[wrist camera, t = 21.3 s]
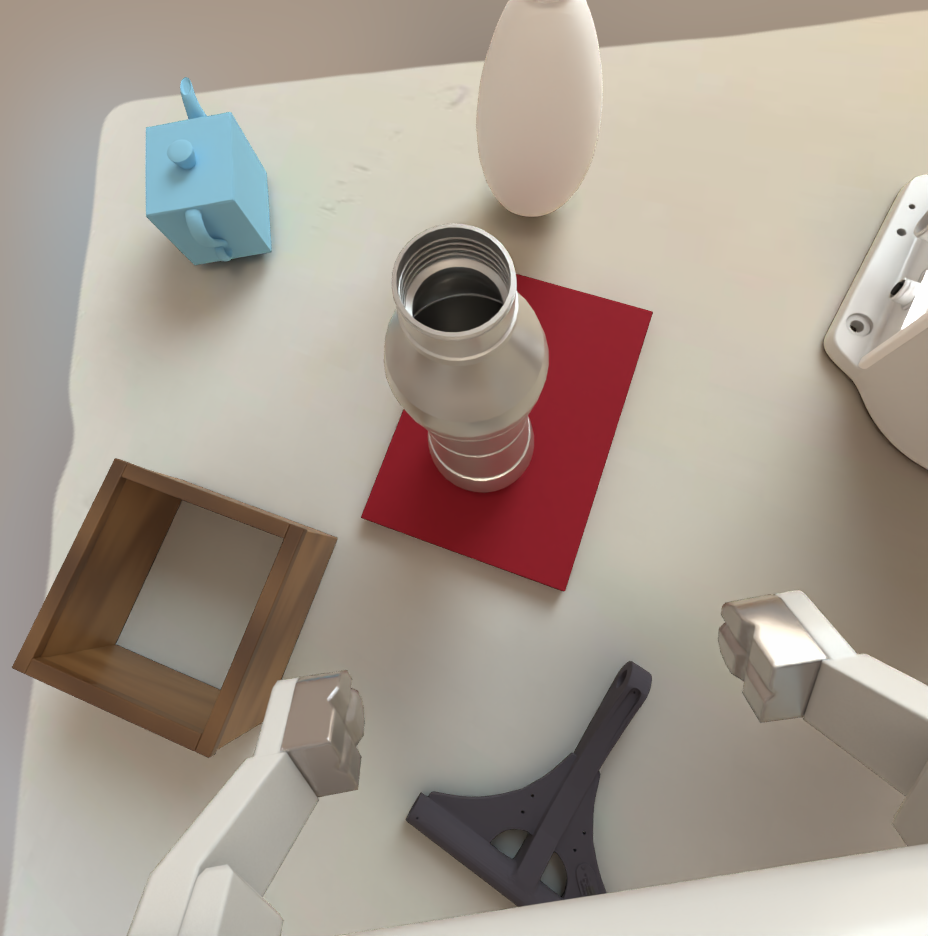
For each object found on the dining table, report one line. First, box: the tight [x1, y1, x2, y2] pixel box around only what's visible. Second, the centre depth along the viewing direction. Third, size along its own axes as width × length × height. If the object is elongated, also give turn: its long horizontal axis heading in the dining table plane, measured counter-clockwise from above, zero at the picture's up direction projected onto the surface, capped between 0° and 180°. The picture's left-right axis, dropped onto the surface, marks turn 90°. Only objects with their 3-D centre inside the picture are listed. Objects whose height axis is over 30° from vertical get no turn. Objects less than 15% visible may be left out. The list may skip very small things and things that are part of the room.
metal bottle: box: [384, 224, 549, 492], centre depth 24 cm, size 6×7×20 cm
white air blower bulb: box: [476, 0, 603, 217], centre depth 30 cm, size 8×8×18 cm
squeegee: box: [406, 661, 652, 907], centre depth 29 cm, size 14×15×3 cm
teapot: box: [146, 77, 271, 265], centre depth 37 cm, size 12×6×8 cm, turn 8°
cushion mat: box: [361, 274, 653, 591], centre depth 35 cm, size 20×14×1 cm
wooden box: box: [12, 458, 337, 758], centre depth 31 cm, size 13×13×6 cm
